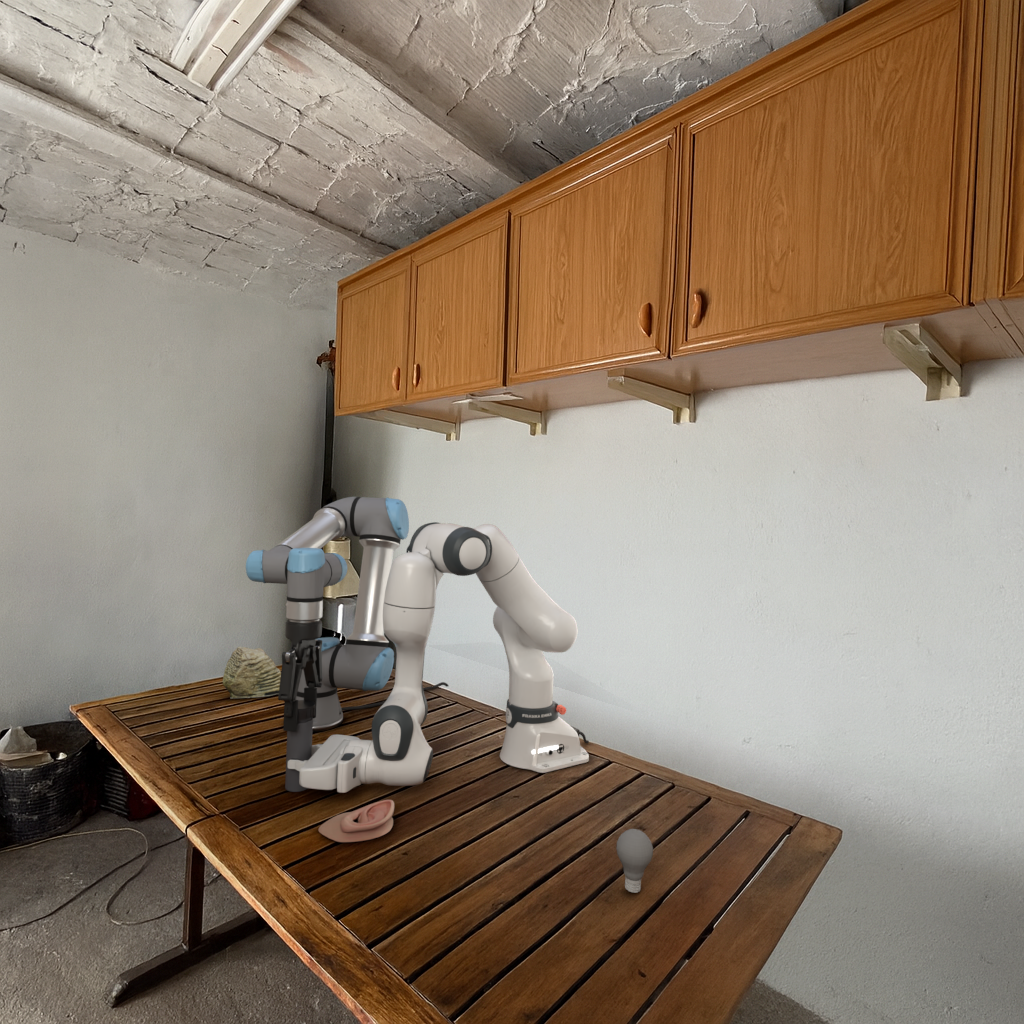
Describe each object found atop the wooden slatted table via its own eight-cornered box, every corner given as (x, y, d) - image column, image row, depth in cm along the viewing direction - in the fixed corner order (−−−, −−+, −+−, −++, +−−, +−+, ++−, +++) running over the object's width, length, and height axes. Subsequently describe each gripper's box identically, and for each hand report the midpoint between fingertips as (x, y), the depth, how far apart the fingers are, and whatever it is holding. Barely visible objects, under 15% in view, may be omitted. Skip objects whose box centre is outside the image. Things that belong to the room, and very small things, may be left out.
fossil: (218, 695, 195) (220, 647, 195) (278, 685, 208) (279, 640, 207) (228, 703, 189) (230, 653, 188) (289, 692, 201) (290, 645, 201)
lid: (280, 715, 137) (280, 704, 137) (304, 708, 142) (305, 698, 142) (296, 722, 133) (296, 711, 133) (320, 715, 138) (321, 704, 138)
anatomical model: (310, 816, 117) (339, 789, 129) (309, 837, 117) (338, 808, 129) (377, 827, 115) (401, 798, 126) (376, 848, 115) (400, 818, 126)
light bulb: (610, 879, 108) (613, 822, 108) (644, 879, 109) (647, 822, 109) (619, 902, 102) (622, 840, 102) (655, 901, 103) (658, 840, 103)
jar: (301, 778, 142) (304, 703, 141) (315, 786, 138) (318, 709, 138) (280, 786, 138) (283, 709, 137) (293, 794, 134) (296, 715, 134)
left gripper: (310, 610, 148) (306, 707, 149) (261, 627, 128) (257, 739, 128) (340, 612, 147) (337, 710, 147) (296, 630, 127) (292, 743, 127)
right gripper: (371, 729, 148) (312, 725, 148) (343, 766, 127) (275, 761, 128) (369, 756, 148) (311, 752, 148) (342, 797, 127) (274, 792, 128)
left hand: (300, 723), depth 138 cm, fingers open, 8 cm apart
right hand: (294, 757), depth 138 cm, fingers closed on jar, 5 cm apart
